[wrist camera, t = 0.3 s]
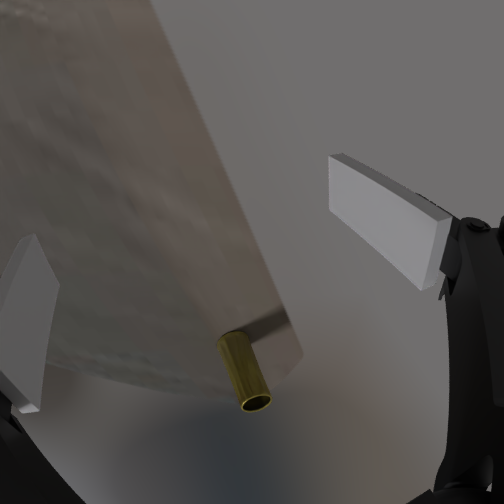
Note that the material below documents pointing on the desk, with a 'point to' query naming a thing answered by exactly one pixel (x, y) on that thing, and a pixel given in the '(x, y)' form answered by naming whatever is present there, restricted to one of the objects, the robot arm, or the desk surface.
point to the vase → (244, 371)
